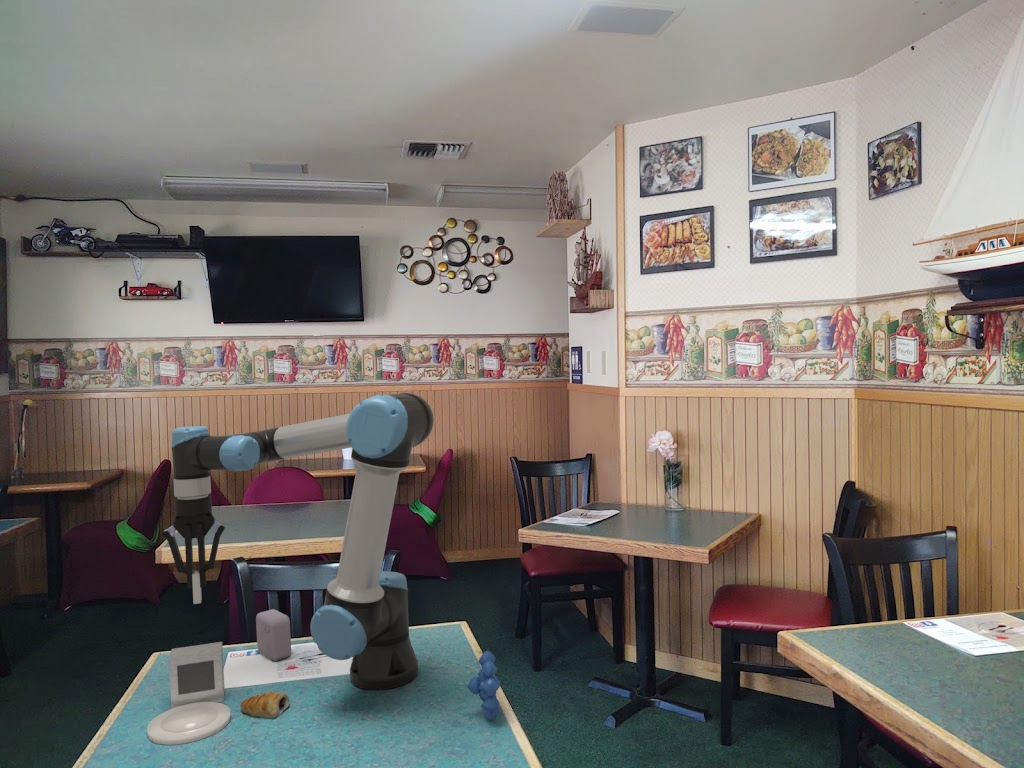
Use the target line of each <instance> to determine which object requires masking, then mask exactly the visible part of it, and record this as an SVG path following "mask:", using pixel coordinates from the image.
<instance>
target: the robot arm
mask: <svg viewBox="0 0 1024 768" xmlns="http://www.w3.org/2000/svg"><path fill="white" fill-rule="evenodd" d="M434 420H435V419H434V414H433V410H432V408H431V406H430V404H429V403H428V401H426V399H424V398H422V397H421V396H419V395H418V394H416V393H415V394H414V393H409V392H401V393H394V394H377V395H373V396H371V397H368V398H366V399H364V400H361V401H360V402H359V403H357V404H356V405H355V406H354V407H353V408H352V409H351V412H350V413H346V414H345V413H344V414H340V415H335V416H331V417H324V418H320V419H316V420H310V421H305V422H300V423H293V424H289V425H284V426H280V427H279V426H278V427H273V428H268V429H263V430H258V431H252V432H251V431H250V432H245V433H237V434H231V435H210V433H209V429H208V427H207V426H202V425H196V426H195V425H193V426H192V425H191V426H182V427H181V426H180V427H176V428H175V429H173V431H172V433H171V455H172V456H171V457H172V466H173V467H172V471H173V495H174V497H175V498H176V499H175V500H174V520H173V523H172V525H171V526H170V527H168V528H165V529H164V530H163V532H162V536H163V537H164V538H165V539H166V542H167V543H168V545H169V546H168V547H169V549H170V552H171V554H172V555H171V556H172V558H173V561H174V564H175V565H174V566H175V568H176V570H177V573H182V574H185V575H186V583H187V584H186V586H187V589H192V599H193V601H192V603H193V605H197V604H201V603H202V598H203V595H202V588H206V584H207V572H208V571H211V570H213V569H214V568H215V562H216V557H217V554H218V553H217V552H218V548H219V544H220V538H221V536H222V534H223V532H224V531H225V528H226V524H224V523H219V522H218V521H216V518H215V517H214V515H213V507H212V506H213V505H212V504H213V503H212V496H211V495H210V494H211V493H212V487H211V486H212V485H211V483H212V482H211V471H230V472H231V471H232V472H241V471H242V472H243V471H250V470H252V469H253V468H254V467H255V466H257V465H260V464H266V463H271V462H277V461H283V460H286V459H292V458H293V459H294V458H297V457H304V456H309V455H316V454H321V453H327V452H333V451H338V450H345V449H350V448H351V454H350V458H351V460H352V461H353V463H354V464H355V465H356V471H355V477H354V481H353V487H352V492H351V498H350V503H349V508H348V513H347V520H346V525H345V529H344V535H343V541H342V546H341V552H340V557H339V564H338V567H337V568H338V569H337V572H336V573H337V575H336V578H334V579H332V580H331V581H329V582H328V584H327V586H326V591H325V598H324V603H323V605H322V606H320V607H319V608H318V609H317V610H316V612H314V614H313V616H312V618H311V621H310V634H311V638H312V641H313V642H314V644H316V646H317V648H318V650H319V651H320V652H322V654H324V655H325V656H326V657H328V658H330V659H333V660H335V661H347V660H349V659H352V661H351V664H350V667H349V680H350V683H351V684H352V685H354V686H355V687H357V688H360V689H365V690H387V689H392V688H397V687H401V686H403V685H405V684H408V683H411V681H413V680H415V679H416V678H417V676H418V675H419V661H418V658H417V655H416V652H415V650H414V648H413V644H412V642H411V639H410V630H409V629H410V627H409V625H410V623H409V600H408V599H409V598H408V597H409V594H408V593H409V588H408V583H407V576H405V575H404V574H403V573H401V572H397V571H389V570H388V571H387V570H386V571H385V570H382V567H383V563H384V557H385V551H386V547H387V541H388V535H389V532H390V531H389V530H390V525H391V519H392V514H393V509H394V504H395V500H396V499H395V498H396V494H397V487H398V483H399V477H400V474H401V473H402V472H403V471H405V470H406V469H407V468H408V467H409V465H410V460H411V454H412V450H413V449H412V448H413V447H416V446H419V445H421V444H422V443H424V442H425V441H426V440H427V439H428V437H429V436H430V435H431V432H432V431H433V427H434ZM212 527H213V530H212V531H213V533H214V535H213V536H214V537H213V539H212V540H213V541H212V545H211V548H210V555H209V559H208V562H207V563H206V542H205V539H206V536H207V534H208V533H209V531H210V530H211V529H212ZM176 533H178V534H179V535H180V536H181V537H182V538H183V539H184V546H185V563H184V561H183V557H182V555H181V550H180V547H179V545H178V543H177V542H178V541H177V539H176V537H175V536H176ZM193 539H196V540H197V553H198V555H197V556H198V557H197V558H198V570H196V571H194V569H195V568H194V553H193V552H194V551H193Z"/></svg>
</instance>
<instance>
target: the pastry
mask: <svg viewBox="0 0 1024 768" xmlns="http://www.w3.org/2000/svg"><path fill="white" fill-rule="evenodd" d="M288 707H290V698H289V696H288V694H287V693H286V692H282V693H280V692H274V691H269V692H266V693H265V692H263V693H260V694H256V695H252V696H249V697H248V698H245V699H244V700H242V701H241V702H240V709H241V711H242V712H243V713H244V714H247V715H249V716H251V717H253V718H262V719H263V718H264V719H275V718H277V717H280V716H281V715H282V714H283V712H284V711H285V710H286V709H287V708H288Z"/></svg>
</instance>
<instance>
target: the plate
mask: <svg viewBox="0 0 1024 768" xmlns="http://www.w3.org/2000/svg"><path fill="white" fill-rule="evenodd" d="M230 721H231V709H230V707H229V706H228V705H226V704H224V703H222V702H218V703H217V702H198V703H191V704H186V705H182V706H179V707H176V708H173V709H171V708H170V709H169V710H166V711H164V712H162V713H160V714H158V715H157V716H155V717H154V718H152V720H150V722H149V723H148V724H147V733H146V734H147V738H148V740H150V741H151V742H152V743H155V744H159V745H163V746H164V745H166V746H167V745H169V746H175V745H183V744H184V745H185V744H189V743H193V742H197V741H200V740H203V739H206V738H209V737H211V736H213V735H215V734H217V733H219V732H220V731H221V730H223V729H224V728H226V727H227V726H228V724H229V723H230Z"/></svg>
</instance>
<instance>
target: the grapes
mask: <svg viewBox="0 0 1024 768" xmlns="http://www.w3.org/2000/svg"><path fill="white" fill-rule="evenodd" d="M496 659H497V658H496V656H495V655H494V654H493V653H492V652H491V651H489V650H485V651H484V652H483V653H482V654H481V655H480V657H479V660H478V663H479V665H480V669H479V671H478V672H477V675H478V676H473V677H472V678H471V679H470V680H469V682H468V683H467V685H466V688H468V690H469V691H470V692H471V693H472V695H478V696H479V697H478V698H479V699H480V701H482V704H481V706H480V707H481V708H482V713H483V716H485V718H487V719H488V720H490V721H494V719H496V717H497V716H498V713H500V712H499V711H500V708H499V705H500V704H501V702H500V700H498V698H497V691H498V690H499V688H500V687H501V684H502V682H501V681H500V680H499V679H498V677H497V676H496V675H495V674H496V673H497V671H498V667H497V665H496V664H494V663H495V661H496Z"/></svg>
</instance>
